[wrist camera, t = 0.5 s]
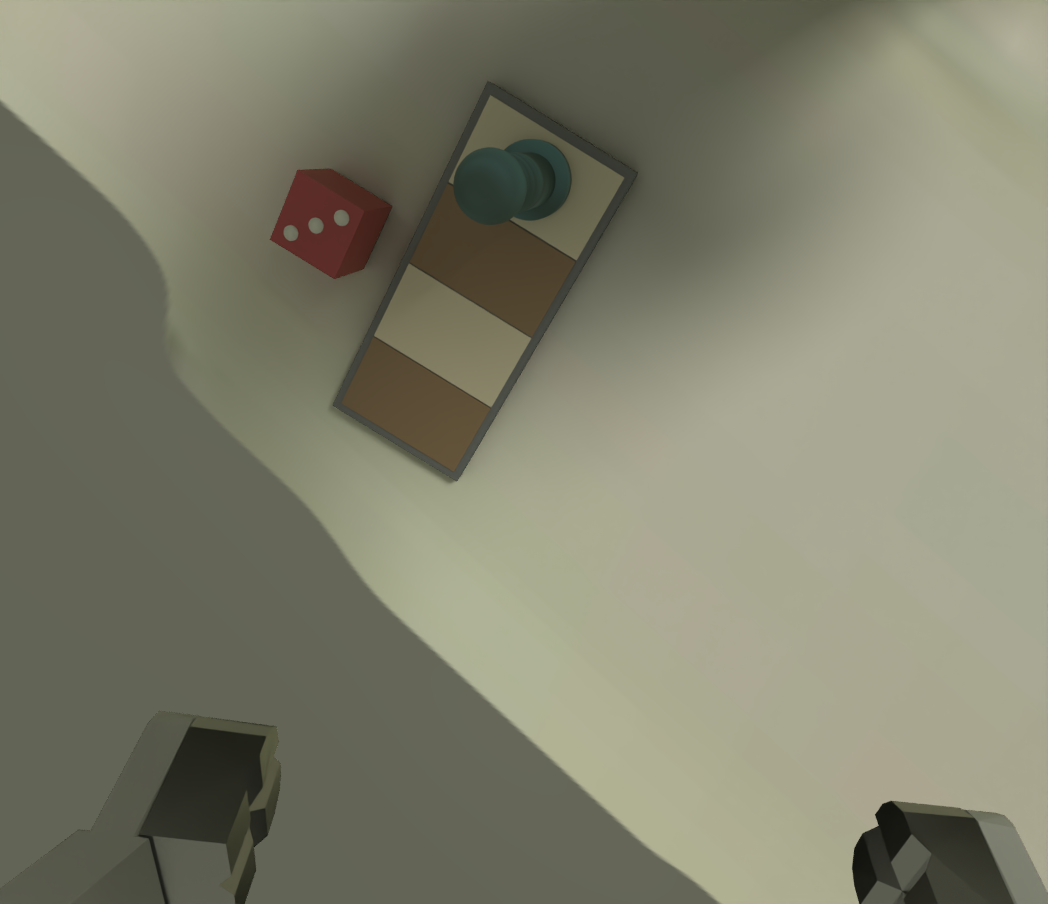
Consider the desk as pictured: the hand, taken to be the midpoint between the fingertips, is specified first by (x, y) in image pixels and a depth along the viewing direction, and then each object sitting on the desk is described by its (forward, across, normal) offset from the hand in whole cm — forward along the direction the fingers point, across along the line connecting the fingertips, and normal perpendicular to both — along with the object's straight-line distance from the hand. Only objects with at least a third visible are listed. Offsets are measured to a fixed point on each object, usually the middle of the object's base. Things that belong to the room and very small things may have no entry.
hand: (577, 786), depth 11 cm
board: (+41, +5, +11) cm, 43 cm away
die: (+43, +13, +8) cm, 46 cm away
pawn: (+41, +2, +3) cm, 41 cm away
